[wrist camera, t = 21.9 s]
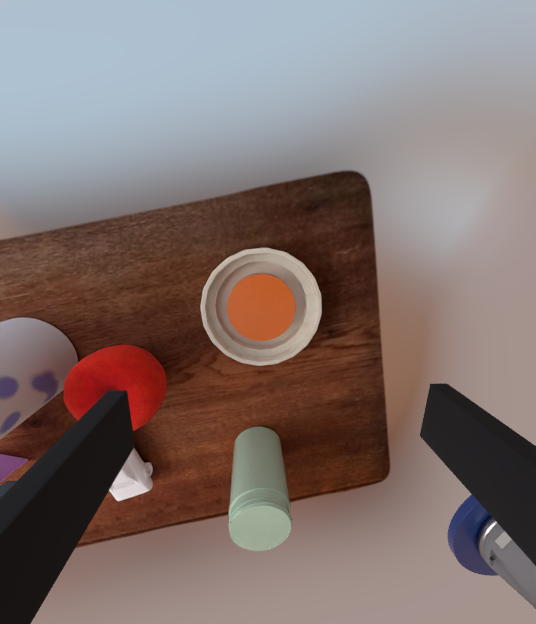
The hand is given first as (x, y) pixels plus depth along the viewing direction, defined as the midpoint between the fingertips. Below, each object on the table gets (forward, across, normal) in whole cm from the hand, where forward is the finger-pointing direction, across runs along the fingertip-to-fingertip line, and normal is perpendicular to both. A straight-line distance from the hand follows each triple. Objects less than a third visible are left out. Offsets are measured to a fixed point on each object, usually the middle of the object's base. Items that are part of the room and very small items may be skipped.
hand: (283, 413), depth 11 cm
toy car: (+20, -19, -20) cm, 34 cm away
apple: (+20, -15, -7) cm, 26 cm away
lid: (+18, 0, 0) cm, 18 cm away
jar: (+20, -1, -20) cm, 28 cm away
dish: (+20, 0, 0) cm, 20 cm away
